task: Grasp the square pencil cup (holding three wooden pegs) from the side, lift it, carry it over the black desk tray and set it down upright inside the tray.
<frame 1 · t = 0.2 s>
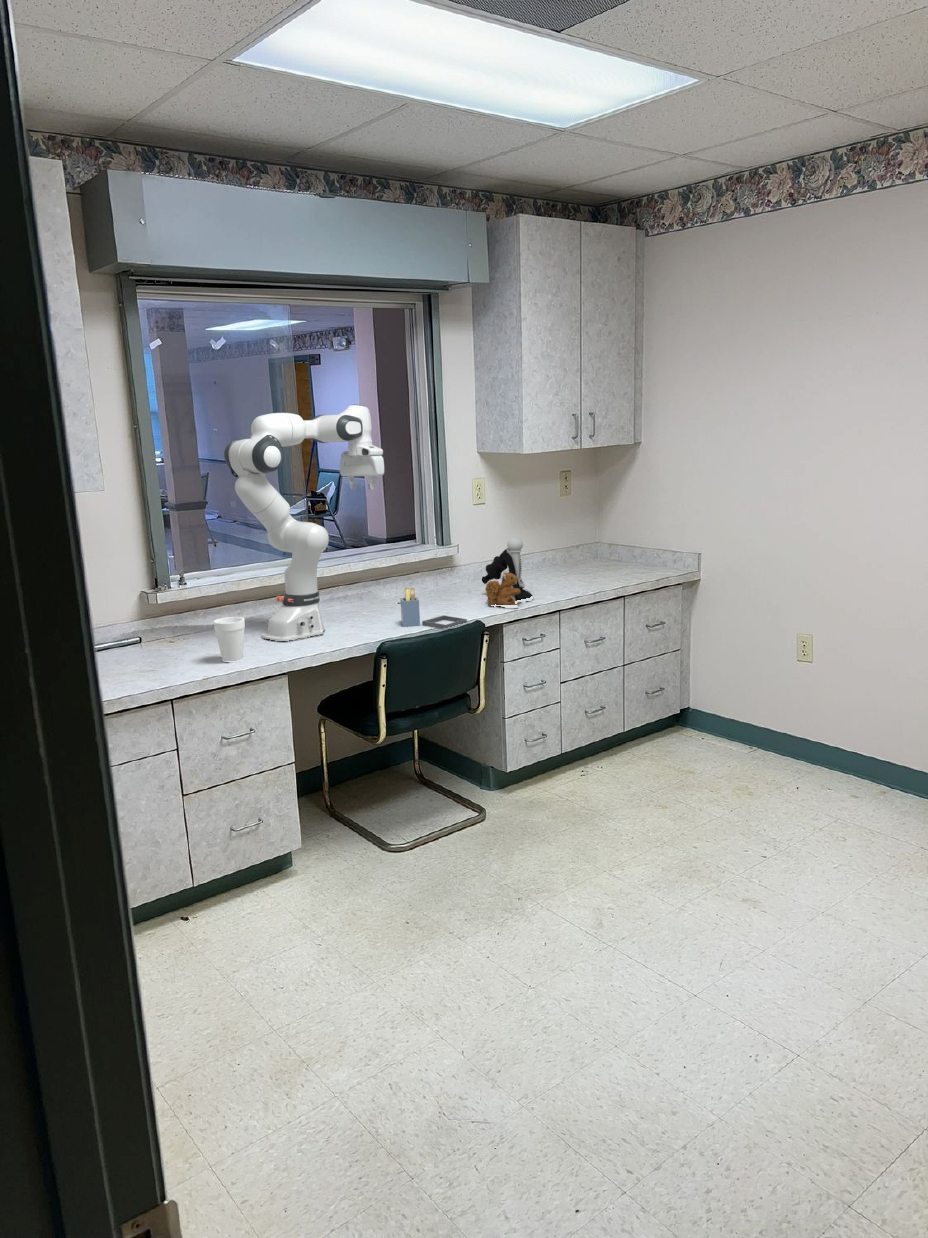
hand: (362, 488, 337), 47 cm above the worktop, tool pointing down, fingers open, 8 cm apart
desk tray: (444, 626, 327), on the worktop
sculpture: (506, 598, 371), on the worktop
mustard peg C: (408, 625, 327), point 1 cm above the worktop, touching pencil cup
pencil cup: (410, 626, 328), on the worktop, touching mustard peg C, wooden peg A, wooden peg B
wooden peg A: (413, 624, 328), point 1 cm above the worktop, touching pencil cup
wooden peg B: (408, 624, 329), point 1 cm above the worktop, touching pencil cup
foam cup: (232, 661, 290), on the worktop
stuffed squirrel: (502, 606, 357), on the worktop
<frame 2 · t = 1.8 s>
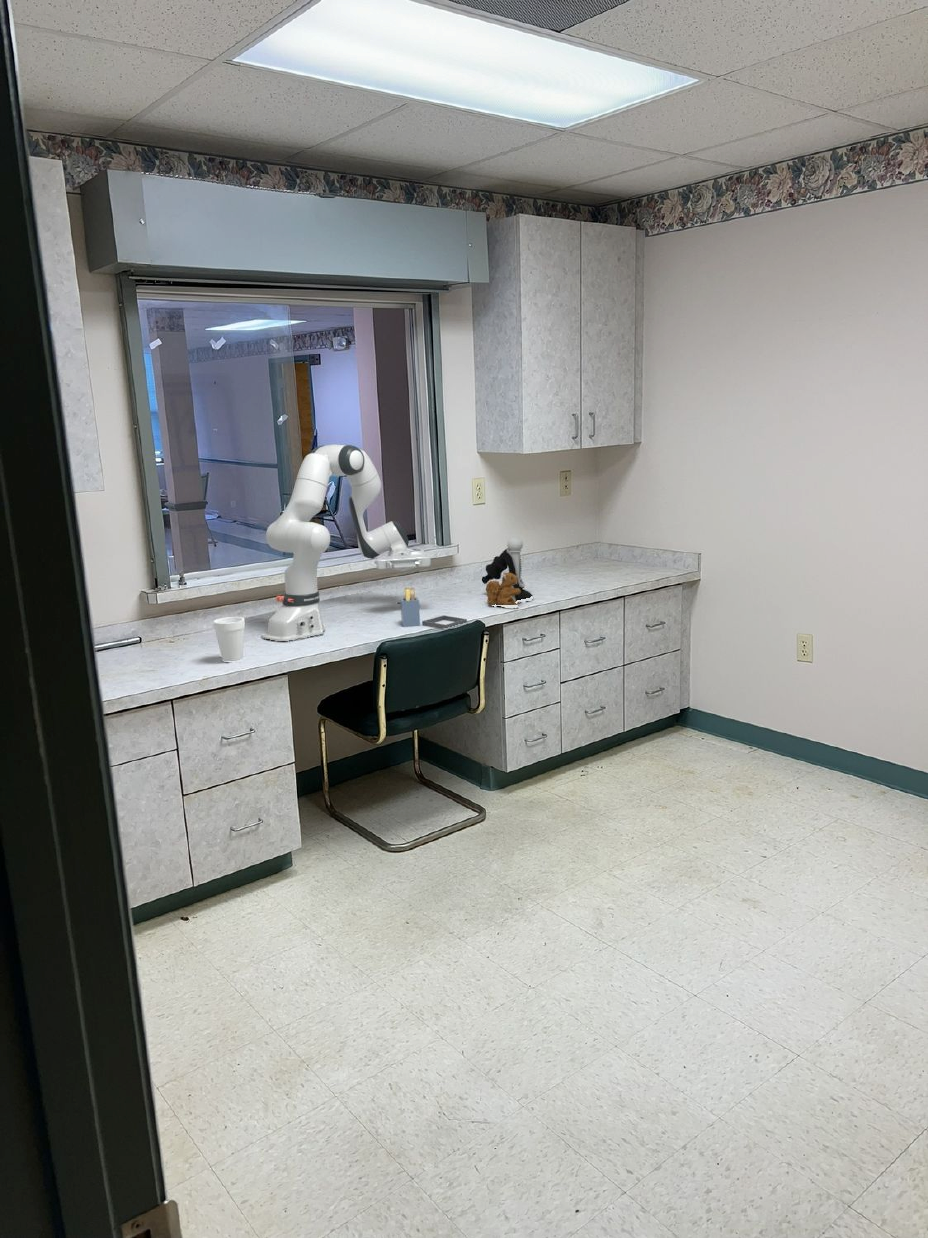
hand: (405, 565, 335), 20 cm above the worktop, tool horizontal, fingers open, 8 cm apart
nothing on the worktop moved.
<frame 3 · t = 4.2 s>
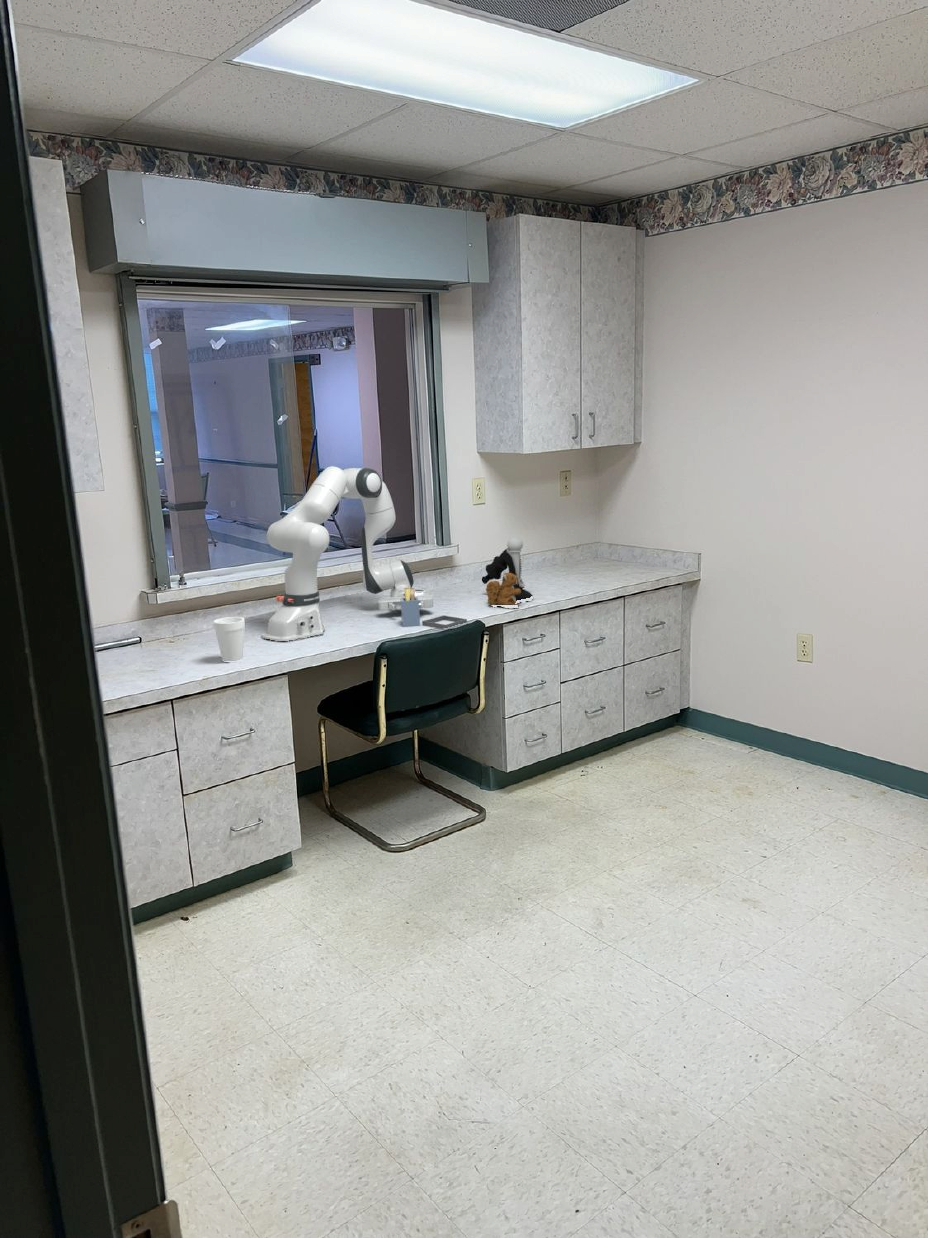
hand: (407, 607, 334), 5 cm above the worktop, tool horizontal, fingers open, 8 cm apart
nothing on the worktop moved.
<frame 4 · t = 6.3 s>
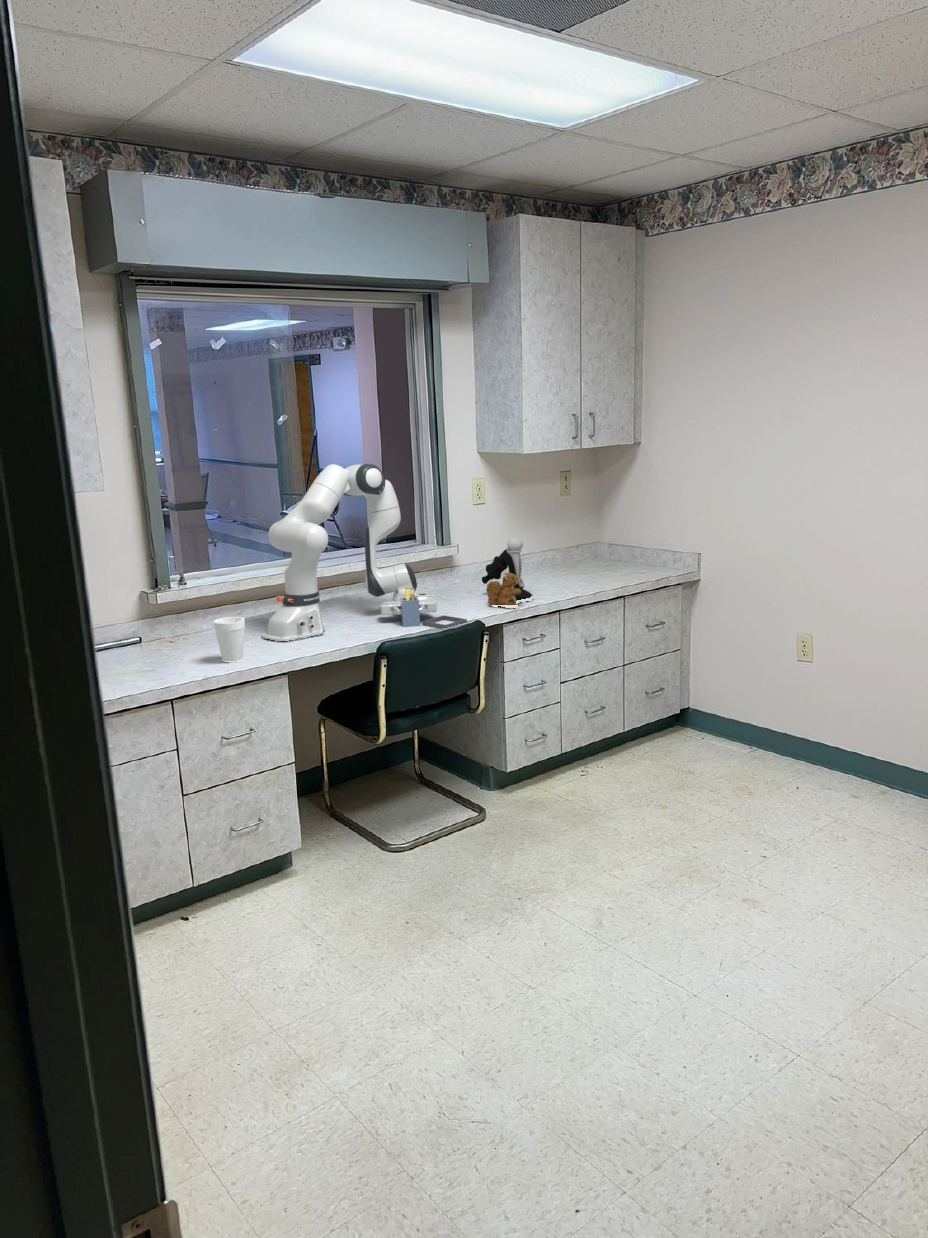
hand: (410, 611, 326), 6 cm above the worktop, tool horizontal, fingers closed on pencil cup, 6 cm apart
pencil cup: (410, 626, 328), on the worktop, touching gripper, mustard peg C, wooden peg A, wooden peg B
everything else where it was.
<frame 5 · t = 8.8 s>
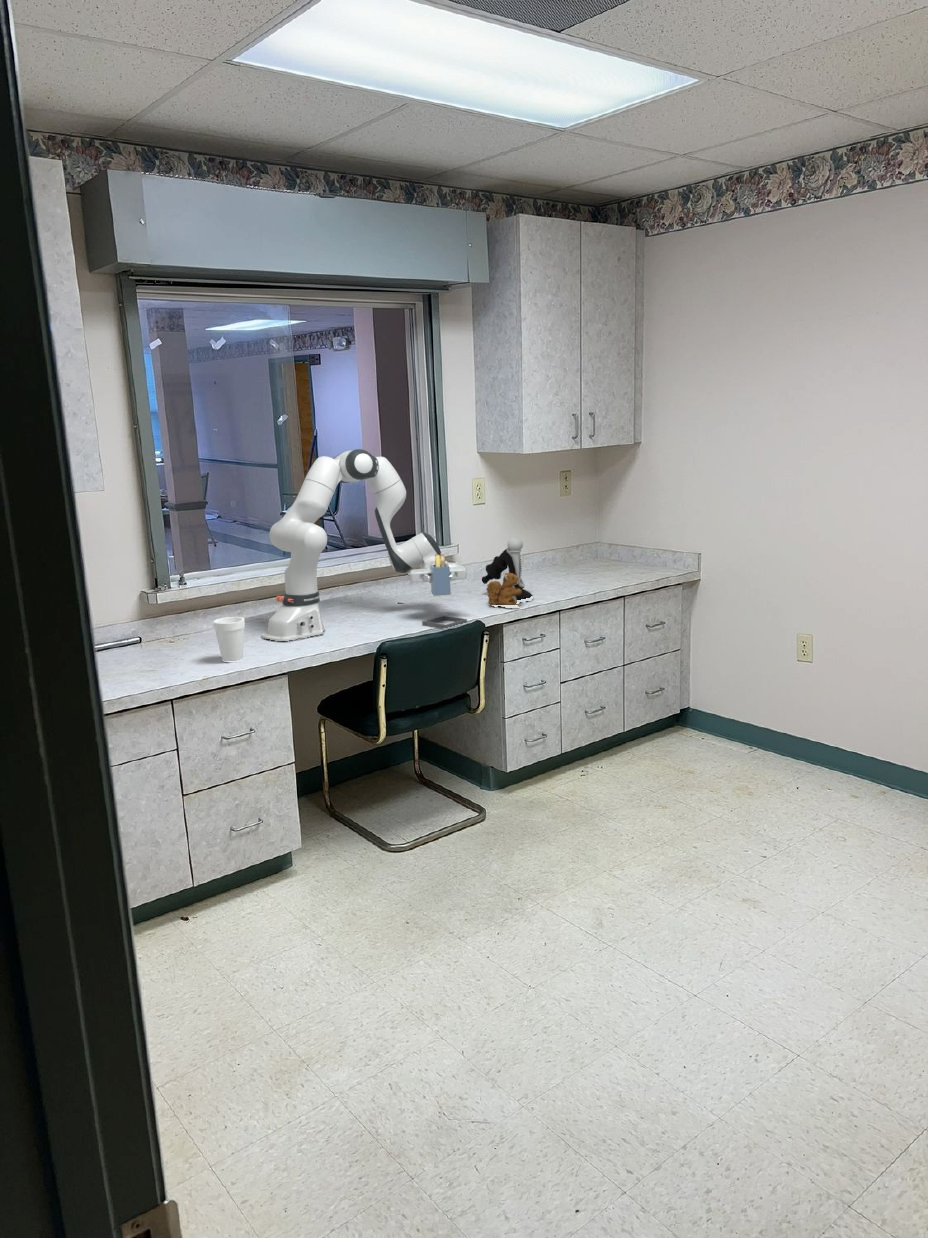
hand: (440, 578, 323), 17 cm above the worktop, tool horizontal, fingers closed on pencil cup, 6 cm apart
mustard peg C: (439, 592, 323), point 12 cm above the worktop, touching pencil cup
pencil cup: (441, 593, 325), point 12 cm above the worktop, touching gripper, mustard peg C, wooden peg A, wooden peg B
wooden peg A: (444, 591, 325), point 13 cm above the worktop, touching pencil cup
wooden peg B: (438, 590, 325), point 13 cm above the worktop, touching pencil cup
everything else where it was.
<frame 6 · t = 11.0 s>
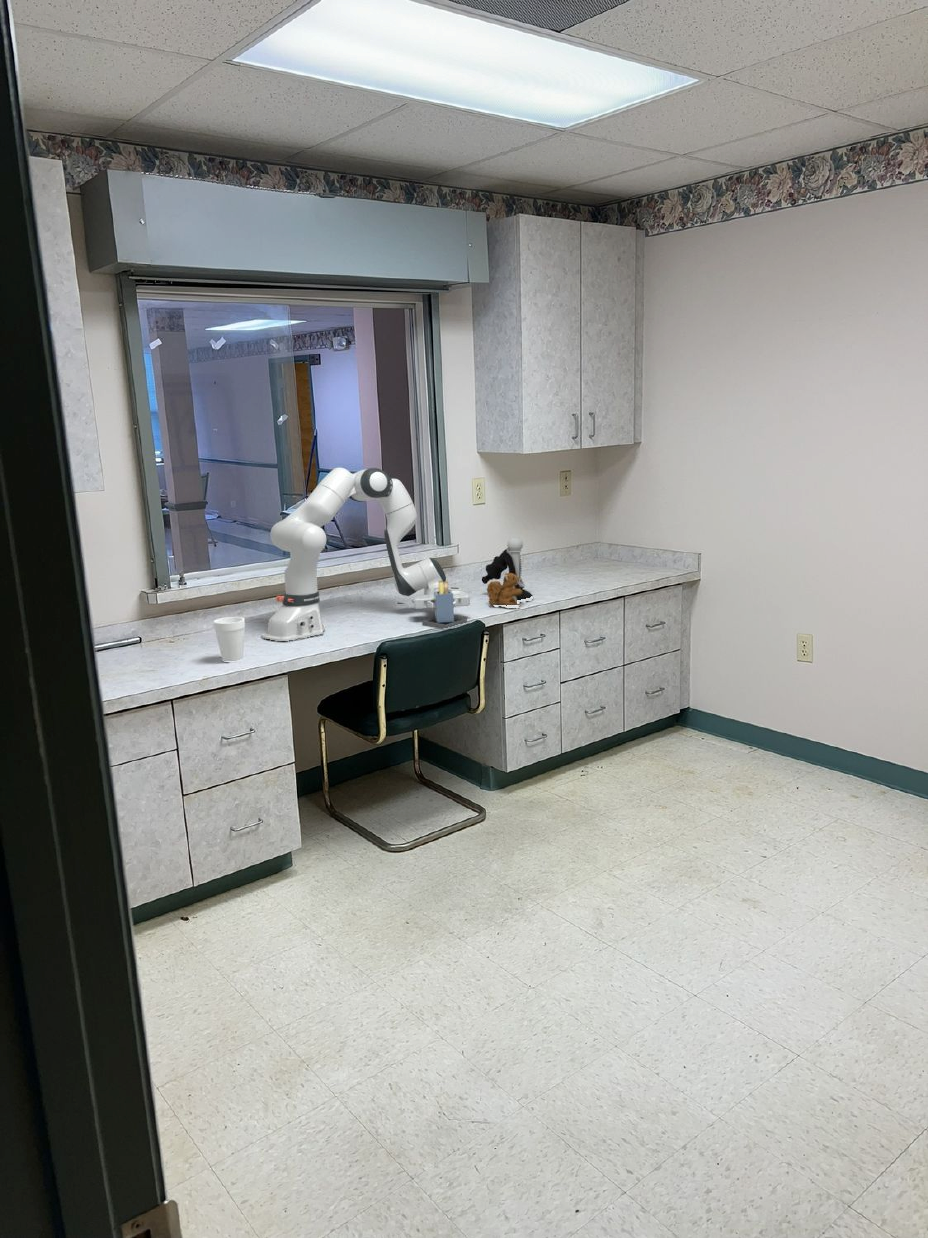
hand: (444, 605, 324), 8 cm above the worktop, tool horizontal, fingers closed on pencil cup, 6 cm apart
mustard peg C: (442, 618, 325), point 3 cm above the worktop, touching pencil cup
pencil cup: (444, 620, 326), point 2 cm above the worktop, touching gripper, mustard peg C, wooden peg A, wooden peg B
wooden peg A: (447, 617, 326), point 3 cm above the worktop, touching pencil cup
wooden peg B: (441, 617, 327), point 3 cm above the worktop, touching pencil cup
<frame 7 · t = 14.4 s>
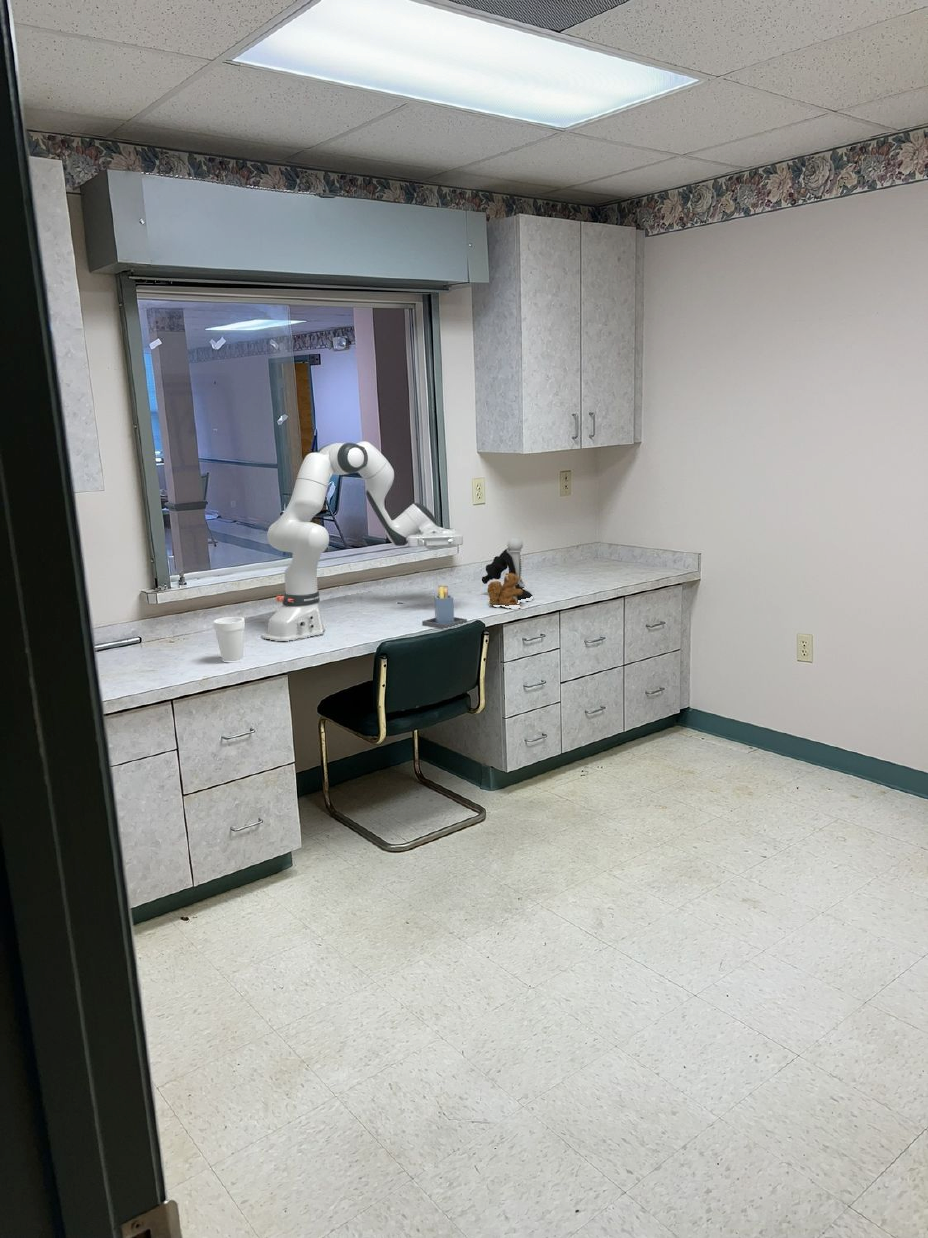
hand: (437, 542, 331), 28 cm above the worktop, tool horizontal, fingers open, 8 cm apart
mustard peg C: (442, 623, 325), point 1 cm above the worktop, touching pencil cup
pencil cup: (444, 624, 327), point 1 cm above the worktop, touching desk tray, mustard peg C, wooden peg A, wooden peg B
wooden peg A: (447, 622, 327), point 1 cm above the worktop, touching pencil cup
wooden peg B: (441, 621, 327), point 1 cm above the worktop, touching pencil cup
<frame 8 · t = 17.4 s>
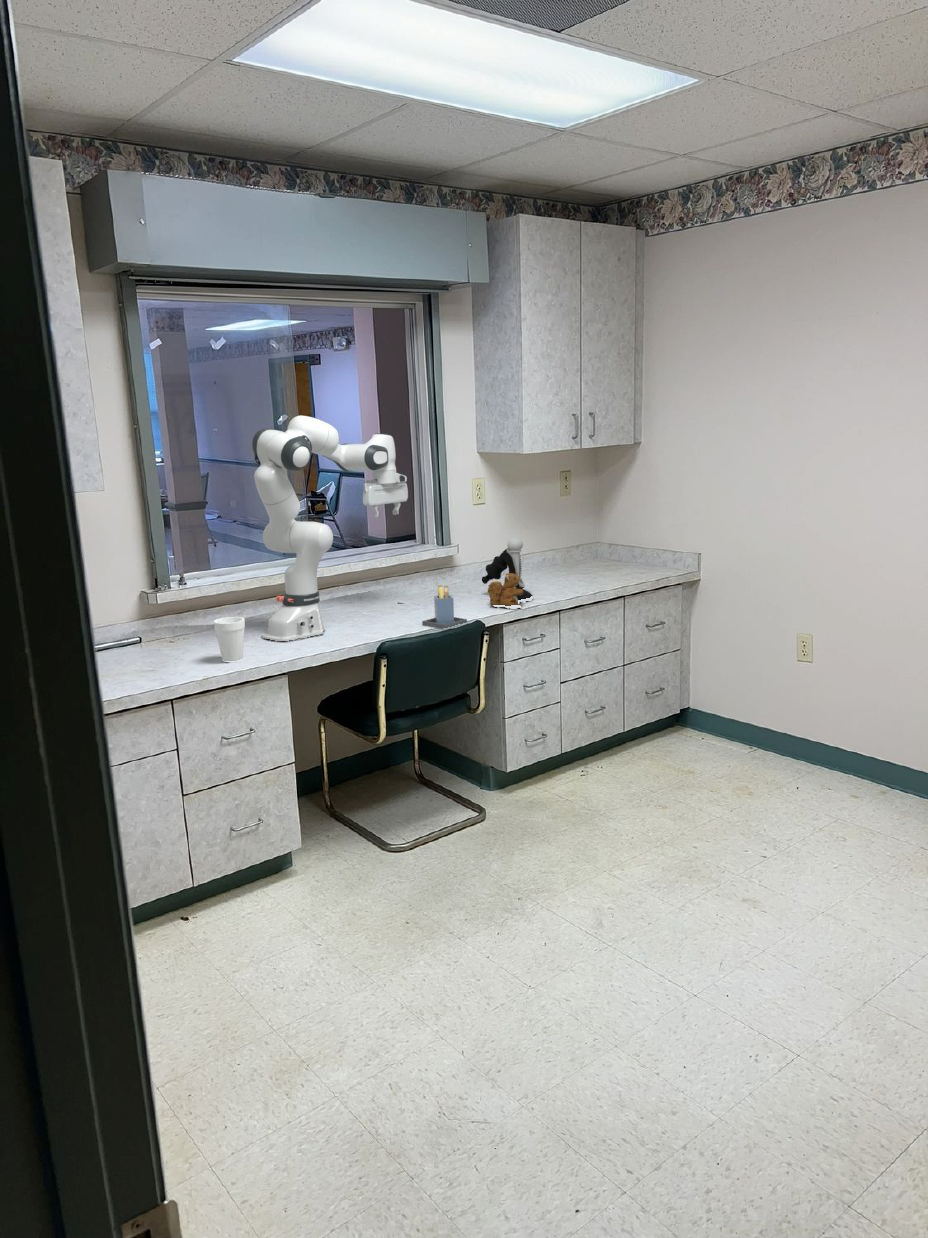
hand: (386, 516, 341), 37 cm above the worktop, tool pointing down, fingers open, 8 cm apart
at the end: pencil cup inside the target area on the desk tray (0.1 cm from its centre), point 0.6 cm above the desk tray's base; pencil cup tilted 0°; the gripper is holding nothing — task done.
